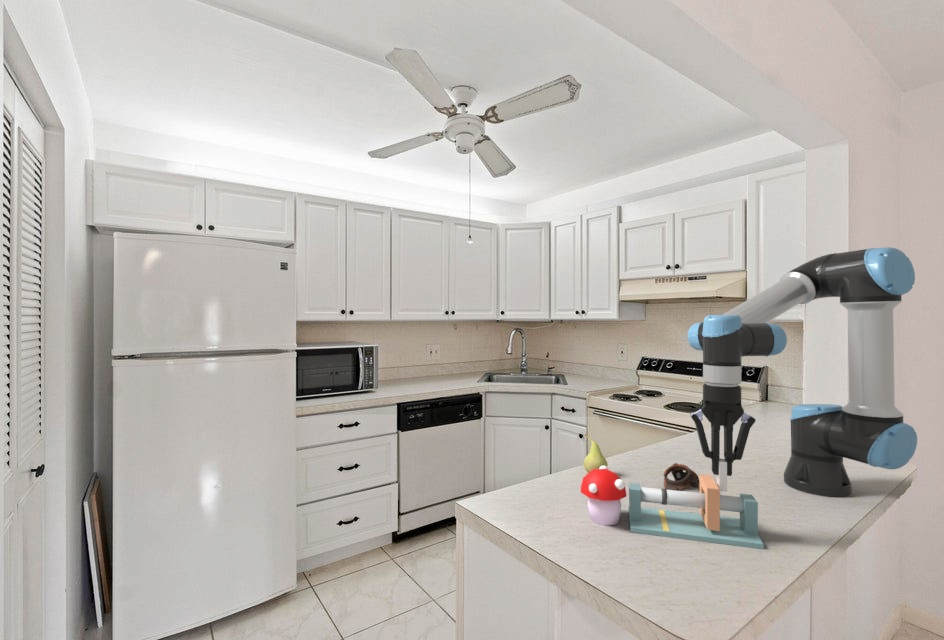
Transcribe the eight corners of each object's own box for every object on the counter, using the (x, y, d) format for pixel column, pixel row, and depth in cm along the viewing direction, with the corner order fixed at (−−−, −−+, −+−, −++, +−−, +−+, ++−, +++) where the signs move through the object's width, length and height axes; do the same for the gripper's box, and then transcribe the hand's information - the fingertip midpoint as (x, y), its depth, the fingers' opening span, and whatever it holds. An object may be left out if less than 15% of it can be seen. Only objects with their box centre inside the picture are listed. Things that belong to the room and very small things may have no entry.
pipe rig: (746, 523, 105) (746, 488, 105) (763, 549, 93) (763, 509, 93) (628, 509, 113) (628, 477, 112) (630, 532, 101) (630, 495, 101)
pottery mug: (711, 500, 120) (700, 475, 118) (677, 513, 121) (666, 489, 120) (692, 473, 131) (682, 450, 130) (661, 485, 133) (650, 463, 131)
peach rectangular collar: (710, 513, 106) (710, 475, 106) (719, 531, 97) (719, 489, 97) (699, 512, 106) (699, 474, 106) (707, 529, 98) (707, 488, 98)
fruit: (599, 481, 132) (599, 440, 132) (577, 474, 138) (577, 435, 138) (611, 475, 137) (611, 436, 136) (590, 469, 142) (590, 431, 142)
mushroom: (620, 534, 100) (620, 480, 100) (573, 522, 106) (573, 471, 106) (631, 515, 109) (631, 466, 109) (587, 506, 115) (587, 459, 115)
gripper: (749, 382, 102) (749, 486, 103) (687, 380, 106) (687, 480, 106) (760, 387, 95) (760, 499, 95) (692, 385, 99) (692, 492, 99)
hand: (721, 489), depth 101 cm, fingers closed
